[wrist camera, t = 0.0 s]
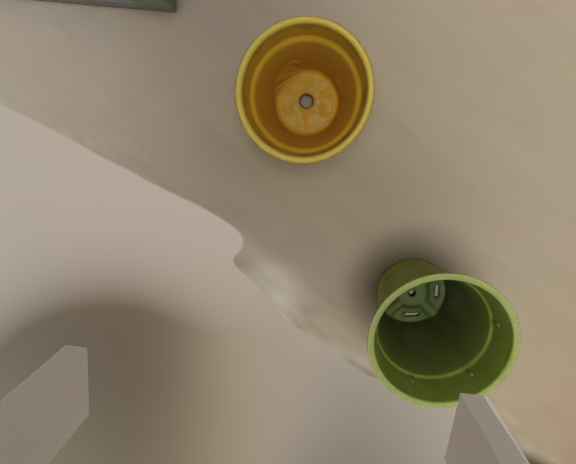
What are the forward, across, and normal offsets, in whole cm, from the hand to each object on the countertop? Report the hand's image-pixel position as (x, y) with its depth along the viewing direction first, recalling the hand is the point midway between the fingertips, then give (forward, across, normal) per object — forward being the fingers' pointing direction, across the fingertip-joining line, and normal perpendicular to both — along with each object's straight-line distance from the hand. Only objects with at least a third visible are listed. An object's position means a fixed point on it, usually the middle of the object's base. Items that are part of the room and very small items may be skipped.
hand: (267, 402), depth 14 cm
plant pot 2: (+28, +13, -6) cm, 31 cm away
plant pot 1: (+28, 0, +12) cm, 31 cm away
